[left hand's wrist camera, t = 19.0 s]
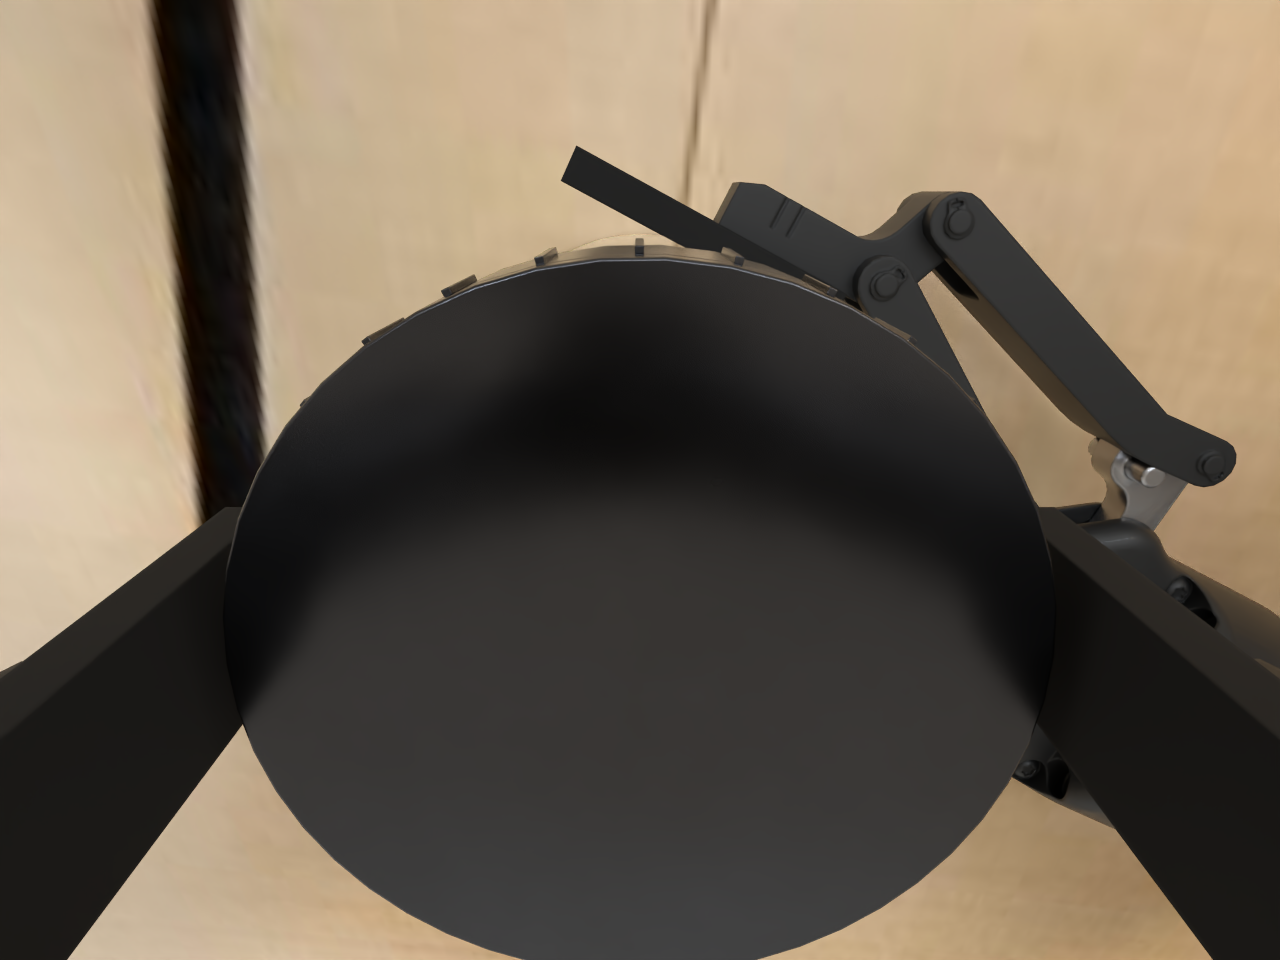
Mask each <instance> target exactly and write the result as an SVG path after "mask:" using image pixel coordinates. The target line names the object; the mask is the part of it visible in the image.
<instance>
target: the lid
mask: <svg viewBox="0 0 1280 960" xmlns="http://www.w3.org/2000/svg"><path fill="white" fill-rule="evenodd" d="M837 291H838V290H836V289H834V288H832V287H830V286H828V285H826V284H824V283H822V282H820V281H818V280H816V279H814V278H812V277H810V276H808V275H806V274H805V275H804V276H803V278H802V280H800V279H798V278H795V277H793V276H791V275H788V274H786V273H783V272H781V271H779V270H776V269H774V268H772V267H769V266H767V265H764V264H760V263H756V262H752V261H749V260H745V258H744V257H743V256H741V255H739V254H738V253H736V252H735V251H733V250H732V249H730V248H726V247H723V248H722V253H718V252H715V251H707V250H699V249H691V248H683V247H674V246H666V245H644V239H643V238H636V239H635V245H616V246H601V247H595V248H588V249H582V250H575V251H568V252H562V253H557V249H556V247H554V248H549V249H547V250H546V251H544V252H543V253H541V254H539V255H538V256H536V257H535V258H534V260H531V261H528V262H524V263H521V264H518V265H514V266H511V267H508V268H504V269H502V270H499V271H497V272H495V273H493V274H491V275H488V276H486V277H484V278H482V279H480V280H478V281H477V279H476V277H475V275H474V274H473V275H471V276H469V277H467V278H465V279H463V280H461V281H459V282H457V283H455V284H453V285H451V286H449V287H447V288H445V289H443V290H441V292H442V294H443V296H444V297H443V298H441V299H439V300H437V301H435V302H433V303H431V304H430V305H428V306H426V307H424V308H422V309H420V310H418V311H417V312H415V313H414V314H412V315H410V316H409V317H407V318H406V319H404V318H401V319H399V320H397V321H396V322H394V323H392V324H390V325H388V326H386V327H384V328H382V329H381V330H379V331H377V332H375V333H373V334H371V335H369V336H367V337H366V338H365V339H364V340H362V343H363V344H364V346H363V347H362V348H361V349H360V350H358V351H357V352H356V353H355V354H354V355H353V356H352V357H350V358H349V359H348V360H347V361H346V362H345V363H344V364H342V365H341V366H340V367H339V368H338V369H337V370H336V371H334V372H333V373H332V374H331V375H330V376H329V377H328V378H326V379H325V380H324V381H323V382H322V383H321V384H320V385H319V386H318V388H317V389H316V390H315V391H314V392H313V393H312V395H311V396H309V397H308V398H306V399H304V400H303V402H302V403H301V404H300V406H301V408H300V409H299V410H298V411H297V412H296V414H295V415H294V416H293V417H292V418H291V420H290V421H289V422H288V423H287V424H286V425H285V427H284V429H283V430H282V432H281V434H280V435H279V437H278V439H277V440H276V442H275V443H274V445H273V447H272V448H271V450H270V452H269V453H268V455H267V457H266V458H265V460H264V462H263V463H262V465H261V466H260V468H259V470H258V471H257V474H256V476H255V479H254V481H253V484H252V486H251V488H250V491H249V493H248V496H247V498H246V501H245V503H244V505H243V508H242V510H241V513H240V515H239V518H238V521H237V525H236V529H235V533H234V538H233V542H232V546H231V550H230V555H229V559H228V563H227V568H226V579H225V593H224V607H223V627H224V639H225V652H226V664H227V668H228V673H229V677H230V681H231V685H232V690H233V694H234V698H235V702H236V707H237V710H238V713H239V715H240V718H241V720H242V723H243V725H244V728H245V731H246V733H247V736H248V738H249V741H250V743H251V746H252V748H253V751H254V753H255V755H256V756H257V758H258V760H259V762H260V764H261V765H262V767H263V769H264V771H265V772H266V774H267V776H268V778H269V780H270V781H271V783H272V785H273V787H274V788H275V790H276V792H277V793H278V795H279V796H280V797H281V799H282V800H283V801H284V803H285V804H286V805H287V807H288V808H289V809H290V811H291V812H292V813H293V815H294V816H295V817H296V819H297V820H298V821H299V823H300V824H301V825H302V827H303V828H304V829H305V830H306V831H307V832H308V833H309V834H310V835H311V836H312V837H313V838H314V839H315V840H316V841H317V842H318V843H319V844H320V846H321V847H322V848H323V849H324V850H325V851H326V852H327V853H328V854H329V855H330V856H331V857H332V858H333V859H334V860H335V861H336V862H337V863H339V864H340V865H341V866H342V867H344V868H345V869H346V870H347V871H348V872H350V873H351V874H352V875H353V876H354V877H356V878H357V879H358V880H359V881H361V882H362V883H363V884H364V885H365V886H367V887H368V888H369V889H371V890H372V891H374V892H375V893H377V894H378V895H380V896H381V897H383V898H384V899H386V900H387V901H389V902H390V903H392V904H394V905H395V906H397V907H398V908H400V909H401V910H403V911H404V912H406V913H407V914H409V915H411V916H413V917H415V918H417V919H419V920H421V921H423V922H425V923H427V924H429V925H431V926H433V927H435V928H437V929H439V930H441V931H443V932H445V933H447V934H449V935H452V936H454V937H457V938H459V939H462V940H464V941H467V942H470V943H472V944H475V945H477V946H480V947H482V948H485V949H488V950H491V951H494V952H498V953H501V954H505V955H508V956H512V957H516V958H519V959H523V960H758V959H761V958H764V957H768V956H771V955H774V954H778V953H781V952H784V951H788V950H791V949H794V948H797V947H800V946H803V945H805V944H808V943H810V942H812V941H815V940H817V939H820V938H822V937H825V936H827V935H829V934H832V933H834V932H837V931H839V930H841V929H843V928H845V927H847V926H849V925H851V924H852V923H854V922H856V921H858V920H860V919H862V918H864V917H865V916H867V915H869V914H871V913H873V912H875V911H877V910H878V909H880V908H882V907H883V906H885V905H886V904H888V903H889V902H891V901H892V900H893V899H895V898H896V897H898V896H899V895H901V894H902V893H904V892H905V891H907V890H908V889H910V888H911V887H912V886H914V885H915V884H917V883H918V882H919V881H920V880H922V879H923V878H924V877H925V876H926V875H927V874H929V873H930V872H931V871H932V870H933V869H934V868H935V867H937V866H938V865H939V864H940V863H941V862H942V861H944V860H945V859H946V858H947V857H948V856H949V855H951V854H952V853H953V852H954V850H955V849H956V848H957V847H958V846H959V845H960V844H961V843H962V842H963V841H964V839H965V838H966V837H967V836H968V835H969V834H970V833H971V832H972V831H973V830H974V829H975V827H976V826H977V825H978V824H979V823H980V822H981V821H982V820H983V818H984V817H985V815H986V814H987V813H988V811H989V810H990V808H991V807H992V806H993V804H994V803H995V801H996V800H997V798H998V797H999V796H1000V794H1001V793H1002V791H1003V790H1004V789H1005V787H1006V786H1007V784H1008V783H1009V781H1010V779H1011V777H1012V775H1013V773H1014V771H1015V769H1016V768H1017V766H1018V764H1019V762H1020V760H1021V758H1022V756H1023V754H1024V752H1025V750H1026V749H1027V747H1028V745H1029V743H1030V740H1031V737H1032V734H1033V732H1034V729H1035V726H1036V723H1037V721H1038V718H1039V715H1040V712H1041V709H1042V707H1043V704H1044V701H1045V697H1046V692H1047V687H1048V682H1049V677H1050V672H1051V667H1052V662H1053V658H1054V646H1055V626H1056V599H1055V589H1054V580H1053V570H1052V561H1051V555H1050V552H1049V548H1048V544H1047V541H1046V537H1045V533H1044V530H1043V526H1042V522H1041V518H1040V515H1039V511H1038V508H1037V506H1036V504H1035V501H1034V499H1033V497H1032V495H1031V492H1030V490H1029V488H1028V486H1027V484H1026V481H1025V479H1024V477H1023V475H1022V472H1021V470H1020V468H1019V466H1018V464H1017V461H1016V460H1015V458H1014V457H1013V455H1012V454H1011V452H1010V451H1009V449H1008V448H1007V446H1006V445H1005V443H1004V442H1003V440H1002V438H1001V437H1000V435H999V434H998V432H997V431H996V429H995V428H994V426H993V425H992V423H991V422H990V420H989V419H988V417H987V416H986V415H985V414H984V412H983V411H982V410H981V409H980V408H979V407H978V406H979V404H978V403H977V401H976V400H975V399H973V398H972V397H970V396H969V395H967V394H966V392H965V391H964V390H963V389H962V388H961V387H960V386H959V385H958V384H957V382H956V381H955V380H954V379H953V378H952V377H951V376H950V375H949V374H948V373H947V372H946V371H945V370H943V369H942V368H941V367H940V366H938V365H937V364H936V363H935V362H934V361H932V360H931V359H930V358H929V357H927V356H926V355H925V354H924V353H923V352H921V351H920V350H919V349H918V348H916V347H915V346H914V345H915V344H916V343H917V340H916V339H914V338H913V337H912V336H910V335H908V334H906V333H905V332H903V331H901V330H899V329H897V328H895V327H893V326H891V325H890V324H888V323H886V322H884V321H882V320H880V319H878V318H875V319H873V318H871V317H870V316H868V315H866V314H865V313H863V312H861V311H860V310H858V309H856V308H855V307H853V306H851V305H849V304H848V303H846V302H844V301H842V300H840V299H838V298H836V297H835V295H836V293H837Z"/></svg>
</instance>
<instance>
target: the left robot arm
mask: <svg viewBox="0 0 1280 960" xmlns="http://www.w3.org/2000/svg"><path fill="white" fill-rule="evenodd" d="M242 508H243V507H225V508H224V509H222V510H221V511H220V512H219V513H217V514H216V515H215V516H213V517H212V518H211V519H209V520H208V521H207V522H205V523H204V524H203V525H201V526H200V527H199V528H198V529H196V530H195V531H194V532H192V533H191V534H190V535H188V536H187V537H186V538H184V539H183V540H182V541H180V542H179V543H178V544H177V545H175V546H174V547H173V548H171V549H170V550H169V551H167V552H166V553H165V554H163V555H162V556H161V557H159V558H158V559H157V560H156V561H154V562H153V563H152V564H150V565H149V566H148V567H146V568H145V569H144V570H142V571H141V572H140V573H138V574H137V575H136V576H135V577H133V578H132V579H131V580H129V581H128V582H127V583H125V584H124V585H123V586H121V587H120V588H119V589H117V590H116V591H115V592H113V593H112V594H111V595H110V596H108V597H107V598H106V599H104V600H103V601H102V602H100V603H99V604H98V605H96V606H95V607H94V608H92V609H91V610H90V611H89V612H87V613H86V614H85V615H83V616H82V617H81V618H79V619H78V620H77V621H75V622H74V623H73V624H71V625H70V626H69V627H68V628H66V629H65V630H64V631H62V632H61V633H60V634H58V635H57V636H56V637H54V638H53V639H52V640H50V641H49V642H48V643H47V644H45V645H44V646H43V647H41V648H40V649H39V650H37V651H36V652H35V653H33V654H32V655H31V656H29V657H28V658H27V659H26V660H24V661H21V662H19V663H17V664H15V665H13V666H11V667H9V668H7V669H5V670H3V671H1V672H0V960H67V959H68V958H69V956H70V955H71V954H72V952H73V951H74V950H75V948H76V947H77V946H78V944H79V943H80V942H81V940H82V939H83V938H84V936H85V935H86V934H87V932H88V931H89V930H90V928H91V927H92V926H93V924H94V923H95V922H96V920H97V919H98V917H99V916H100V915H101V913H102V912H103V911H104V909H105V908H106V907H107V905H108V904H109V903H110V901H111V900H112V899H113V897H114V896H115V895H116V893H117V892H118V891H119V889H120V888H121V887H122V885H123V884H124V883H125V881H126V880H127V879H128V877H129V876H130V875H131V873H132V872H133V871H134V869H135V868H136V867H137V865H138V864H139V863H140V861H141V860H142V858H143V857H144V856H145V854H146V853H147V852H148V850H149V849H150V848H151V846H152V845H153V844H154V842H155V841H156V840H157V838H158V837H159V836H160V834H161V833H162V832H163V830H164V829H165V828H166V826H167V825H168V824H169V822H170V821H171V820H172V818H173V817H174V816H175V814H176V813H177V812H178V810H179V809H180V808H181V806H182V805H183V804H184V802H185V801H186V800H187V798H188V797H189V795H190V794H191V793H192V791H193V790H194V789H195V787H196V786H197V785H198V783H199V782H200V781H201V779H202V778H203V777H204V775H205V774H206V773H207V771H208V770H209V769H210V767H211V766H212V765H213V763H214V762H215V761H216V759H217V758H218V757H219V755H220V754H221V753H222V751H223V750H224V749H225V747H226V746H227V745H228V743H229V742H230V741H231V739H232V738H233V736H234V735H235V734H236V732H237V731H238V730H239V728H240V727H241V726H242V724H243V723H242V720H241V718H240V715H239V713H238V710H237V707H236V702H235V698H234V694H233V690H232V685H231V681H230V677H229V673H228V668H227V664H226V652H225V639H224V627H223V607H224V593H225V579H226V568H227V563H228V559H229V555H230V550H231V546H232V542H233V538H234V533H235V529H236V525H237V521H238V518H239V515H240V513H241V510H242ZM1037 508H1038V511H1039V515H1040V518H1041V522H1042V526H1043V530H1044V533H1045V537H1046V541H1047V544H1048V548H1049V552H1050V555H1051V561H1052V570H1053V580H1054V589H1055V599H1056V626H1055V646H1054V658H1053V662H1052V667H1051V672H1050V677H1049V682H1048V687H1047V692H1046V697H1045V701H1044V704H1043V707H1042V709H1041V712H1040V715H1039V718H1038V721H1037V724H1038V726H1039V727H1040V728H1041V730H1042V731H1043V732H1044V734H1045V735H1046V736H1047V738H1048V739H1049V741H1050V742H1051V743H1052V745H1053V746H1054V747H1055V749H1056V750H1057V751H1058V753H1059V754H1060V755H1061V757H1062V758H1063V759H1064V761H1065V762H1066V763H1067V765H1068V766H1069V767H1070V769H1071V770H1072V771H1073V773H1074V774H1075V775H1076V777H1077V778H1078V779H1079V781H1080V782H1081V783H1082V785H1083V786H1084V787H1085V789H1086V790H1087V791H1088V793H1089V794H1090V795H1091V797H1092V798H1093V799H1094V801H1095V802H1096V804H1097V805H1098V806H1099V808H1100V809H1101V810H1102V812H1103V813H1104V814H1105V816H1106V817H1107V818H1108V820H1109V821H1110V822H1111V824H1112V825H1113V826H1114V828H1115V829H1116V830H1117V832H1118V833H1119V834H1120V836H1121V837H1122V838H1123V840H1124V841H1125V842H1126V844H1127V845H1128V846H1129V848H1130V849H1131V850H1132V852H1133V853H1134V854H1135V856H1136V857H1137V858H1138V860H1139V861H1140V863H1141V864H1142V865H1143V867H1144V868H1145V869H1146V871H1147V872H1148V873H1149V875H1150V876H1151V877H1152V879H1153V880H1154V881H1155V883H1156V884H1157V885H1158V887H1159V888H1160V889H1161V891H1162V892H1163V893H1164V895H1165V896H1166V897H1167V899H1168V900H1169V901H1170V903H1171V904H1172V905H1173V907H1174V908H1175V909H1176V911H1177V912H1178V913H1179V915H1180V916H1181V917H1182V919H1183V920H1184V922H1185V923H1186V924H1187V926H1188V927H1189V928H1190V930H1191V931H1192V932H1193V934H1194V935H1195V936H1196V938H1197V939H1198V940H1199V942H1200V943H1201V944H1202V946H1203V947H1204V948H1205V950H1206V951H1207V952H1208V954H1209V955H1210V956H1211V958H1212V959H1213V960H1280V669H1279V668H1277V667H1275V666H1273V665H1271V664H1269V663H1267V662H1265V661H1263V660H1261V659H1253V658H1252V657H1251V656H1249V655H1248V654H1247V653H1245V652H1244V651H1243V650H1241V649H1240V648H1239V647H1237V646H1236V645H1235V644H1233V643H1232V642H1231V641H1230V640H1228V639H1227V638H1226V637H1224V636H1223V635H1222V634H1220V633H1219V632H1218V631H1216V630H1215V629H1214V628H1212V627H1211V626H1210V625H1209V624H1207V623H1206V622H1205V621H1203V620H1202V619H1201V618H1199V617H1198V616H1197V615H1195V614H1194V613H1193V612H1191V611H1190V610H1189V609H1188V608H1186V607H1185V606H1184V605H1182V604H1181V603H1180V602H1178V601H1177V600H1176V599H1174V598H1173V597H1172V596H1170V595H1169V594H1168V593H1167V592H1165V591H1164V590H1163V589H1161V588H1160V587H1159V586H1157V585H1156V584H1155V583H1153V582H1152V581H1151V580H1149V579H1148V578H1147V577H1145V576H1144V575H1143V574H1142V573H1140V572H1139V571H1138V570H1136V569H1135V568H1134V567H1132V566H1131V565H1130V564H1128V563H1127V562H1126V561H1124V560H1123V559H1122V558H1121V557H1119V556H1118V555H1117V554H1115V553H1114V552H1113V551H1111V550H1110V549H1109V548H1107V547H1106V546H1105V545H1103V544H1102V543H1101V542H1100V541H1098V540H1097V539H1096V538H1094V537H1093V536H1092V535H1090V534H1089V533H1088V532H1086V531H1085V530H1084V529H1082V528H1081V527H1080V526H1079V525H1077V524H1076V523H1075V522H1073V521H1072V520H1071V519H1069V518H1068V517H1067V516H1065V515H1064V514H1063V513H1061V512H1060V511H1059V510H1058V509H1056V508H1055V507H1037Z"/></svg>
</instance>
